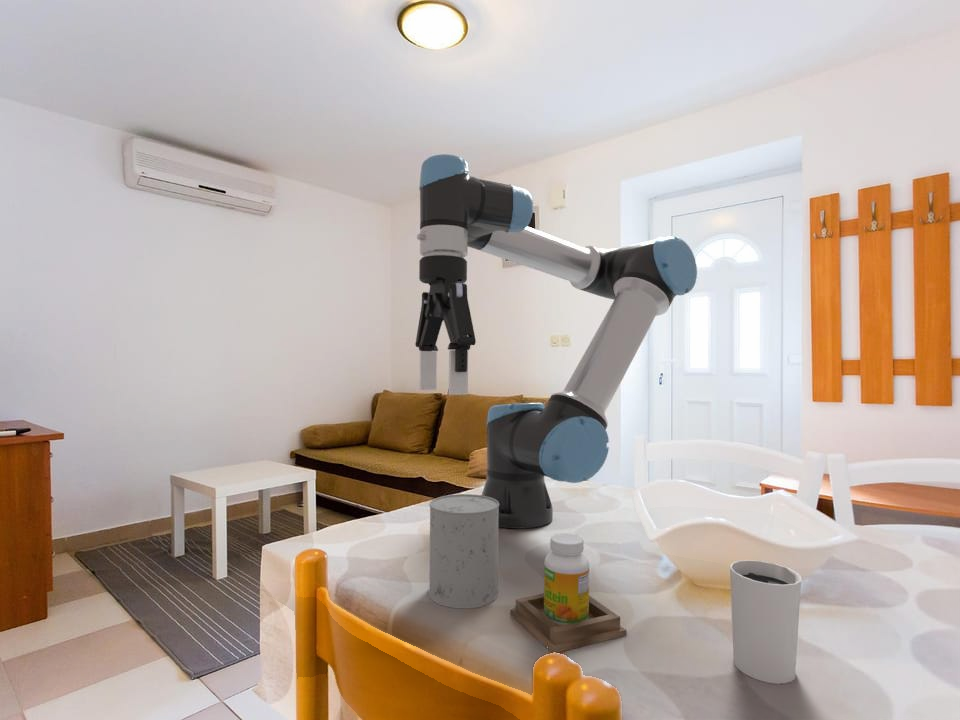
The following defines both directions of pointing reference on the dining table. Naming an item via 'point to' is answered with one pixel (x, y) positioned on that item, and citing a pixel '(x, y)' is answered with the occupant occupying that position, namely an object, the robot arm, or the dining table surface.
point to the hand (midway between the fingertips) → (442, 392)
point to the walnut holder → (567, 625)
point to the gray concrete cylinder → (463, 550)
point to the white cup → (765, 619)
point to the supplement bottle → (566, 580)
